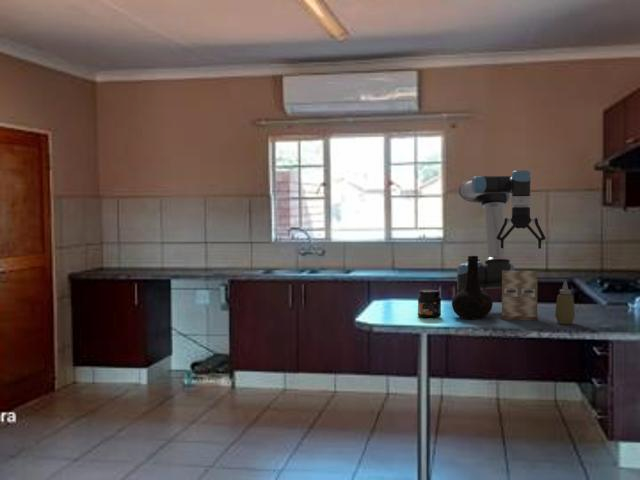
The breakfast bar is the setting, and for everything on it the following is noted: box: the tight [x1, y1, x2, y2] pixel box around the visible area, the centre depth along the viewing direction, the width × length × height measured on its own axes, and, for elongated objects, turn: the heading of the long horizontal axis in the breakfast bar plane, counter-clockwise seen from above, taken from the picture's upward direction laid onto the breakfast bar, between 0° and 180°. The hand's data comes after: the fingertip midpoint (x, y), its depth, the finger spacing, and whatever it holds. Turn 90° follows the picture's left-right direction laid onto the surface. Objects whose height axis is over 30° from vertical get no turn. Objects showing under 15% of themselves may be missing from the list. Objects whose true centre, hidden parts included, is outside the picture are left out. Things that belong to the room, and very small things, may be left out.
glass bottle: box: [451, 255, 494, 320], centre depth 339 cm, size 18×18×28 cm
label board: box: [501, 270, 538, 321], centre depth 334 cm, size 15×6×22 cm, turn 77°
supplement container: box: [417, 289, 442, 319], centre depth 342 cm, size 10×10×12 cm
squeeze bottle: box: [554, 280, 576, 325], centre depth 321 cm, size 8×8×18 cm
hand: (520, 256), depth 324 cm, fingers open, 13 cm apart
